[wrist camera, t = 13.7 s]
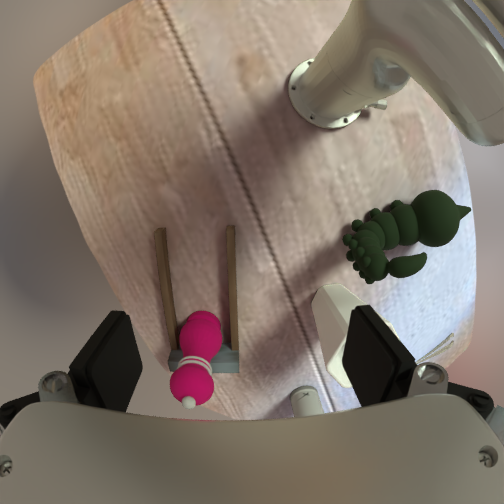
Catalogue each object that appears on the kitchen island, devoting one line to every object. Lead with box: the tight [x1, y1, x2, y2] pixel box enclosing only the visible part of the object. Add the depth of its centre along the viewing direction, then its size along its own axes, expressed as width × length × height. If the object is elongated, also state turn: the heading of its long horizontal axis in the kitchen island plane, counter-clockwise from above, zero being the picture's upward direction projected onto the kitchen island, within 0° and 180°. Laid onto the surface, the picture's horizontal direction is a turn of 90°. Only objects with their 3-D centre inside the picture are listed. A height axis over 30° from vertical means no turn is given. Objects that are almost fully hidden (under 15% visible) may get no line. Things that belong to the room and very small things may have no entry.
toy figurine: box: [342, 190, 471, 284], centre depth 35 cm, size 9×19×25 cm
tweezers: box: [415, 333, 454, 364], centre depth 55 cm, size 18×5×2 cm, turn 116°
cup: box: [311, 283, 400, 388], centre depth 40 cm, size 11×10×17 cm
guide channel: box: [154, 226, 239, 373], centre depth 43 cm, size 12×24×6 cm, turn 1°
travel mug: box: [290, 386, 324, 417], centre depth 45 cm, size 6×7×20 cm
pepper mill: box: [170, 311, 222, 409], centre depth 38 cm, size 7×7×20 cm
